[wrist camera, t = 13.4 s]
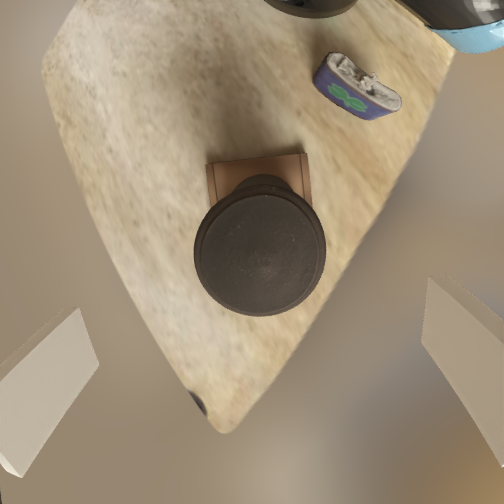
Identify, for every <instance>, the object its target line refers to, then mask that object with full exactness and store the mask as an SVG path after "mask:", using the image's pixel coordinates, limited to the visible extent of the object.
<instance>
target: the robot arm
mask: <svg viewBox="0 0 504 504" xmlns="http://www.w3.org/2000/svg"><path fill="white" fill-rule="evenodd" d="M264 1H266V2H267V3H268V4H270V5H271V6H273V7H274V8H276V9H278V10H280V11H282V12H285V13H287V14H290V15H294V16H298V17H303V18H328V17H333V16H336V15H339V14H341V13H344V12H345V11H347V10H349V9H350V8H351V7H352V6H353V5H354V4H355V3H356V2H357V0H264ZM395 1H396V2H397V3H399V4H400V5H401V6H403V7H404V8H405V9H407V10H408V11H409V12H410V13H412V14H413V15H414V16H415V17H417V18H418V19H419V20H420V21H422V22H423V23H424V25H425V27H427V28H428V29H429V30H431V31H433V32H435V33H437V34H438V35H439V36H440V37H441V38H443V39H444V40H445V41H446V42H447V43H449V44H450V45H451V46H452V47H453V48H455V49H456V50H458V51H461V52H466V53H471V54H478V53H484V52H488V51H492V50H494V49H497V48H500V47H502V46H504V0H395ZM421 343H422V344H423V346H424V347H425V349H426V350H427V351H428V353H429V354H430V356H431V357H432V358H433V360H434V361H435V363H436V364H437V366H438V367H439V369H440V370H441V371H442V373H443V374H444V376H445V377H446V379H447V380H448V382H449V383H450V384H451V386H452V387H453V389H454V391H455V392H456V394H457V395H458V397H459V398H460V400H461V401H462V403H463V404H464V406H465V407H466V409H467V410H468V412H469V414H470V415H471V417H472V418H473V420H474V422H475V423H476V425H477V426H478V428H479V430H480V431H481V433H482V435H483V436H484V438H485V440H486V441H487V443H488V445H489V446H490V448H491V450H492V451H493V453H494V455H495V457H496V458H497V460H498V462H499V464H500V465H501V467H504V321H503V320H502V319H501V318H500V317H499V316H498V315H496V314H495V313H494V312H492V311H491V310H490V309H489V308H488V307H487V306H485V305H484V304H483V303H482V302H481V301H479V300H478V299H477V298H476V297H474V296H473V295H472V294H471V293H469V292H468V291H467V290H465V289H464V288H463V287H462V286H461V285H459V284H458V283H457V282H455V281H454V280H453V279H451V278H450V277H449V276H447V275H446V274H442V275H436V276H429V277H428V286H427V297H426V306H425V315H424V324H423V330H422V337H421ZM98 366H99V362H98V360H97V357H96V355H95V352H94V349H93V347H92V344H91V341H90V339H89V336H88V333H87V330H86V327H85V324H84V321H83V319H82V315H81V312H80V309H79V307H69V308H68V307H66V308H64V309H63V310H61V311H60V312H59V313H58V314H57V315H56V316H54V317H53V318H52V319H51V320H50V321H48V322H47V323H46V324H45V325H44V326H43V327H42V328H40V329H39V330H38V331H37V332H36V333H35V334H34V335H32V336H31V337H30V338H29V339H28V340H27V341H26V342H25V343H23V344H22V345H21V347H19V348H18V349H17V350H16V351H15V352H14V353H12V354H11V355H10V356H9V357H8V358H7V359H6V360H5V361H4V362H3V363H2V364H1V365H0V463H1V465H2V466H3V467H4V468H5V470H6V471H8V472H9V473H12V474H14V475H16V476H18V477H20V478H22V477H23V476H24V474H25V473H26V471H27V469H28V468H29V466H30V465H31V463H32V462H33V460H34V459H35V457H36V456H37V454H38V452H39V451H40V450H41V448H42V447H43V445H44V443H45V442H46V440H47V439H48V438H49V436H50V435H51V433H52V432H53V430H54V429H55V427H56V426H57V424H58V423H59V421H60V420H61V418H62V417H63V416H64V414H65V413H66V411H67V410H68V408H69V407H70V405H71V404H72V403H73V401H74V400H75V398H76V397H77V396H78V394H79V393H80V391H81V390H82V388H83V387H84V386H85V384H86V383H87V381H88V380H89V379H90V377H91V376H92V375H93V373H94V372H95V370H96V369H97V368H98ZM0 504H2V501H1V494H0Z"/></svg>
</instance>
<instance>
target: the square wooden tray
mask: <svg viewBox="0 0 504 504" xmlns="http://www.w3.org/2000/svg"><path fill="white" fill-rule="evenodd" d="M205 166H206V173H207V181H208V188H209V196H210V203H211V208H212V207H213V206H214V205H215V204H216V203H217V202H218V201H219V200H221V199H222V198H224V197H226V196H228V195H229V194H230V193H232V192H233V190H234V189H235V188H236V187H237V185H238V184H240V183H241V182H242V181H243V180H245V179H247V178H248V177H251V176H254V175H258V174H270V175H274V176H277V177H279V178H281V179H282V180H284V181H285V182H286V183H287V184H288V185H289V186H290V187H291V188H292V190H293V191H294V192H295V193H297V194H298V195H300V196H301V197H302V198H303V199H304V200H305V201H306V202H307V203H308V204H309V205H310V206H311V207H312V197H311V186H310V176H309V166H308V156H307V153H303V154H292V155H281V156H271V157H261V158H253V159H244V160H236V161H228V162H221V163H214V164H206V165H205Z"/></svg>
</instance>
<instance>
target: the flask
mask: <svg viewBox="0 0 504 504" xmlns="http://www.w3.org/2000/svg"><path fill="white" fill-rule="evenodd" d="M372 74H373V77H370V76H369V75H368V74H366V73H365V72H363V71H362V70H361V69H360V68H358V67H357V66H356V65H355V64H354V63H353V62H352V61H351V60H350V59H349V58H348V57H347V56H345V55H344V54H343V53H340V52H329V53H328V54H327V55H326V56H325V58H324V60H323V61H322V63H321V65H320V67H319V68H318V70H317V71H316V73H315V75H314V77H313V85H314V87H316V88H317V90H318V91H319V92H320V93H322V94H323V95H324V96H325V97H326V98H328V99H329V100H330V101H331V102H333V103H335V104H336V105H337V106H340V107H342V108H343V109H345V110H346V111H348V112H350V113H352V114H353V115H355V116H357V117H359V118H361V119H364V120H374V119H376V118H378V117H381V116H384V115H387V114H389V113H392V112H397V111H398V110H399V109H400V108H401V106H402V101H401V97H400V96H399V95H398V94H397V93H396V92H395V91H394V90H392V89H390V88H388V87H386V86H384V85H382V84H381V83H379V82H378V77H377V76H376V75H375V73H374V72H372Z"/></svg>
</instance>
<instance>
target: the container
mask: <svg viewBox="0 0 504 504" xmlns="http://www.w3.org/2000/svg"><path fill="white" fill-rule="evenodd" d="M325 259H326V241H325V236H324V231H323V228H322V225H321V223H320V220H319V218H318V216H317V215H316V213H315V211H314V210H313V209H312V207H311V206H310V205H309V204H308V203H307V202H306V201H305V200H304V199H303V198H302V197H301V196H300V195H298V194H297V193H295V192H294V191H293V190H292V188H291V187H290V186H289V185H288V184H287V183H286V182H285V181H284V180H282V179H281V178H279V177H277V176H274V175H270V174H258V175H254V176H251V177H248V178H247V179H245V180H243V181H242V182H241V183H240V184H238V185H237V187H236V188H235V189H234V190H233V192H232V193H230V194H229V195H228V196H226V197H224V198H222V199H221V200H219V201H218V202H217V203H216V204H215V205H214V206H213V207H212V208H211V209H210V210H209V211H208V213H207V214H206V216H205V217H204V219H203V220H202V222H201V224H200V226H199V229H198V231H197V234H196V238H195V243H194V263H195V268H196V272H197V274H198V277H199V280H200V282H201V284H202V285H203V287H204V288H205V290H206V291H207V292H208V293H209V295H210V296H211V297H212V298H213V299H215V300H216V301H217V302H218V303H219V304H221V305H222V306H224V307H225V308H227V309H229V310H231V311H234V312H236V313H239V314H243V315H248V316H257V317H262V316H272V315H277V314H280V313H283V312H286V311H288V310H290V309H292V308H294V307H296V306H297V305H299V304H300V303H301V302H303V301H304V300H305V299H306V298H307V297H308V296H309V295H310V294H311V293H312V291H313V290H314V289H315V287H316V285H317V284H318V282H319V280H320V278H321V275H322V273H323V269H324V265H325Z"/></svg>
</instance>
